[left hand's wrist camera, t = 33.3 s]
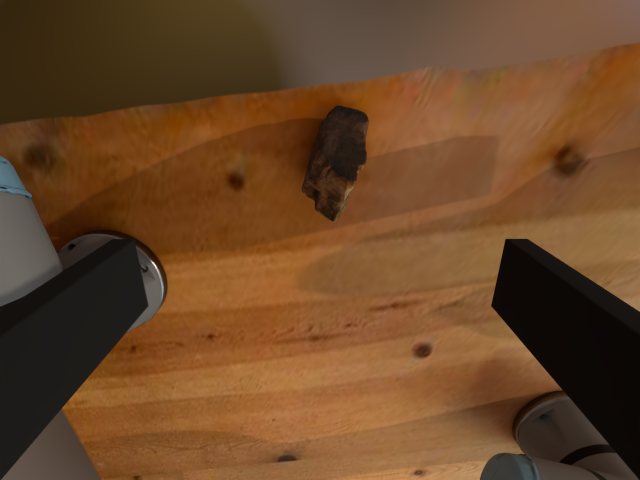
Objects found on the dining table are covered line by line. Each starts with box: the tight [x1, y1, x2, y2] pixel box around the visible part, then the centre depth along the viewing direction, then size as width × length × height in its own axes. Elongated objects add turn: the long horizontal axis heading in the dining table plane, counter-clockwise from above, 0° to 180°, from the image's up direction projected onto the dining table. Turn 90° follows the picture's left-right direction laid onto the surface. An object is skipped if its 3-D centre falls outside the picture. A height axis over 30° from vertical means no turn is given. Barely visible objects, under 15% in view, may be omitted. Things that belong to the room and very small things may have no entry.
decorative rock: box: [302, 106, 369, 222], centre depth 39 cm, size 12×6×11 cm, turn 158°
